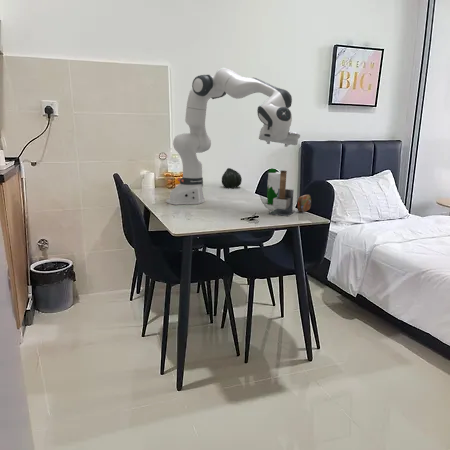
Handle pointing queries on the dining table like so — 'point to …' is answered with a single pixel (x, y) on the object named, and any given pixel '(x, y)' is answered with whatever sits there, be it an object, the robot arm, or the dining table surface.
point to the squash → (231, 178)
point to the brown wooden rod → (282, 184)
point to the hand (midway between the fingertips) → (277, 144)
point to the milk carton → (273, 185)
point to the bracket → (283, 204)
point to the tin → (304, 203)
